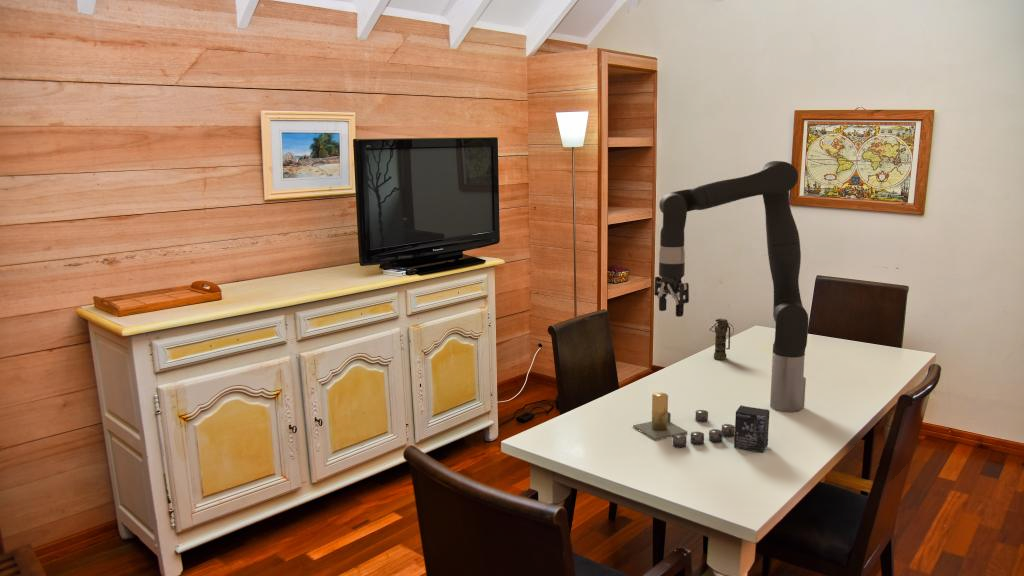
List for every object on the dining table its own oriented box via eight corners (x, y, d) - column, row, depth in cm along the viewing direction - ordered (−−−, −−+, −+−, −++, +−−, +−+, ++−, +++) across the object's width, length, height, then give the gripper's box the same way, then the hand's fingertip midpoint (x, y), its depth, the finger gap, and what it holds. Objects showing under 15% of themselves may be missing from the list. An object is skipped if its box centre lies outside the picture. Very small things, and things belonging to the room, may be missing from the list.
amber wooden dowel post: (661, 424, 227) (662, 391, 224) (670, 429, 223) (671, 396, 221) (648, 426, 225) (649, 394, 223) (657, 432, 221) (658, 398, 219)
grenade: (707, 359, 290) (708, 320, 287) (714, 355, 295) (715, 317, 292) (729, 363, 285) (730, 323, 282) (736, 359, 289) (737, 320, 286)
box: (733, 448, 210) (735, 411, 208) (738, 440, 215) (740, 404, 213) (763, 453, 207) (765, 416, 204) (768, 446, 211) (769, 409, 209)
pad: (664, 420, 231) (664, 418, 231) (687, 433, 221) (687, 431, 221) (633, 427, 227) (633, 425, 226) (654, 440, 217) (654, 438, 217)
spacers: (694, 412, 237) (694, 404, 236) (742, 437, 217) (742, 429, 217) (637, 424, 229) (637, 416, 228) (681, 451, 209) (681, 442, 209)
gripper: (697, 263, 227) (695, 317, 230) (668, 256, 240) (667, 307, 243) (675, 265, 224) (674, 320, 227) (647, 258, 237) (647, 310, 240)
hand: (670, 313), depth 235 cm, fingers open, 8 cm apart
